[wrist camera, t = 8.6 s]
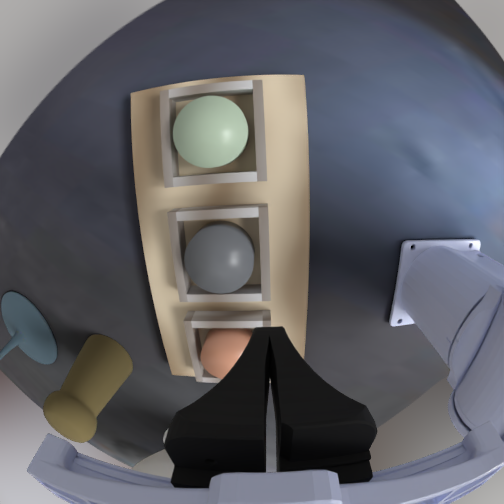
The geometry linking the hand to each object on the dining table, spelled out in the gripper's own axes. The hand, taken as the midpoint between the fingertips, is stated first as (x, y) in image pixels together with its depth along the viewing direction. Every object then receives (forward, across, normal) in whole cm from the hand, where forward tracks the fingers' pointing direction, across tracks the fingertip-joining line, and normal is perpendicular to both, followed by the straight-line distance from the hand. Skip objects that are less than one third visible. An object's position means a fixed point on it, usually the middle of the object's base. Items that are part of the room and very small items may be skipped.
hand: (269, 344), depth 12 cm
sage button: (+8, +3, -10) cm, 13 cm away
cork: (+10, +17, +10) cm, 22 cm away
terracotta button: (+8, +3, +6) cm, 10 cm away
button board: (+9, +3, -2) cm, 10 cm away
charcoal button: (+8, +3, -2) cm, 8 cm away
